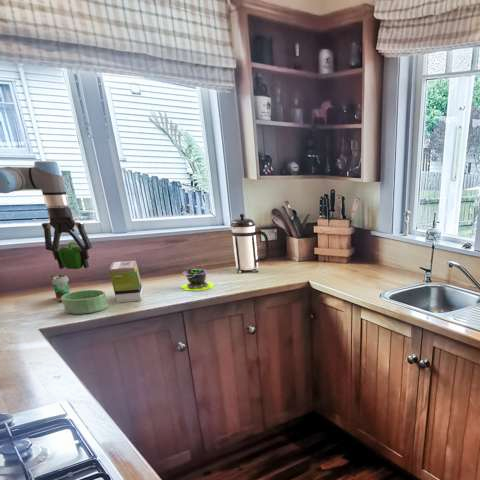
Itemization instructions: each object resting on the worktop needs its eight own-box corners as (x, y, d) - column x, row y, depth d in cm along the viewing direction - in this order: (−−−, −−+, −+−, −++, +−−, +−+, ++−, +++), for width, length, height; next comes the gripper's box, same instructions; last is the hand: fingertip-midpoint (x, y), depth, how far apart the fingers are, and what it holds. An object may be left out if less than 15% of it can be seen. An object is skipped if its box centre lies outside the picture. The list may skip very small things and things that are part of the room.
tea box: (119, 294, 211) (111, 261, 204) (143, 292, 214) (137, 259, 208) (116, 303, 198) (108, 268, 192) (142, 301, 202) (135, 266, 195)
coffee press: (248, 275, 247) (242, 216, 234) (227, 271, 254) (220, 213, 242) (271, 269, 260) (267, 213, 247) (251, 265, 268) (246, 211, 255)
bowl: (58, 315, 182) (54, 300, 180) (74, 304, 196) (70, 290, 193) (100, 314, 184) (96, 299, 182) (113, 303, 198) (110, 289, 196)
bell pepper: (66, 271, 177) (59, 245, 173) (59, 268, 182) (52, 242, 178) (90, 268, 183) (84, 242, 179) (83, 265, 188) (76, 239, 184)
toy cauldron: (182, 284, 229) (178, 261, 224) (214, 282, 233) (211, 259, 228) (180, 291, 216) (176, 268, 211) (214, 289, 220) (211, 266, 215)
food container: (74, 301, 200) (68, 278, 196) (58, 303, 197) (51, 280, 193) (72, 294, 209) (66, 272, 205) (56, 296, 206) (50, 274, 202)
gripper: (92, 205, 178) (106, 265, 187) (32, 205, 174) (49, 266, 184) (84, 207, 171) (99, 269, 181) (22, 207, 168) (40, 270, 178)
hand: (74, 267), depth 182 cm, fingers closed on bell pepper, 8 cm apart
